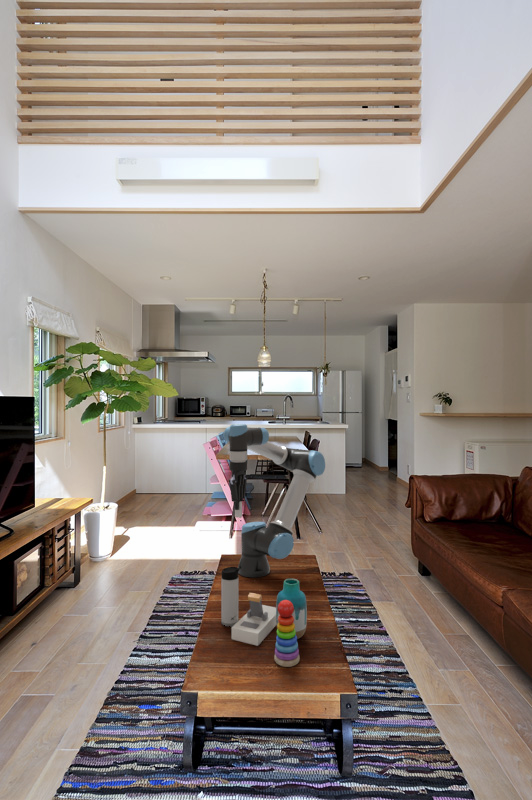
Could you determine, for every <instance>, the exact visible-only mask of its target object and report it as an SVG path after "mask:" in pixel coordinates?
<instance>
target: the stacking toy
mask: <svg viewBox="0 0 532 800" xmlns="http://www.w3.org/2000/svg"><path fill="white" fill-rule="evenodd" d="M293 611H294V607H293V604H292V603H291V602H290V601H288V600H283V601H281V602H280V603H279V605H278V612H279V614H280V616H279V617H278V622H279V623H278V625H276V636H275V637H276V642H275V648H274V656H273V657H274V662H275V663H276V664H277V665H279V666H280V667H284V668H291V667H294V666H296V665H297V664H299V662H300V659H301V658H300V652H299V644H298V639H297V636H296V635H295V634H296V631H295V629H294V628H295V624H294V623H293V622H294V617H293V616H292V614H293ZM277 628H278V629H277Z"/></svg>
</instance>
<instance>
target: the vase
mask: <svg viewBox="0 0 532 800" xmlns="http://www.w3.org/2000/svg"><path fill="white" fill-rule="evenodd" d="M283 600H288V601H290V602H291V603H292V604H293V607H294V611H293V614H292V616H293V617H294V622H293V623H294V624H295V628H294V629H295V631H296V634H295V635H296V636H297V640H299V639H300V638H302V637H303V635H304V634H305V632H306V630H307V622H308V621H307V619H308V610H307V607H308V606H307V597H306V594H305V593H304V592H303V591H302V590H301V589H300V581H299V580H298V579H295V578H286V579H285V580H284V581H283V587H282V590H280V591H279V592H278V594H277V596H276V602H275V603H276V604H275V605H276V606H275V608H276V623H277V625H278V623H279V622H278V617H279V616H280V614H279V612H278V605H279V603H280V602H281V601H283ZM277 625H276V626H277ZM277 629H278V628H277V627H276V630H277Z"/></svg>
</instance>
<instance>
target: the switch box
mask: <svg viewBox="0 0 532 800" xmlns="http://www.w3.org/2000/svg"><path fill="white" fill-rule="evenodd" d="M262 608H263V615H262V618H259V617H255V616H251V609H250V608H249V609H248V610H247V611H246V614H244V615H243V616H242V617H241V618H240V619H238V622H237V623H236V624H235V625H234V626H231V640H232V641H237V642H242V643H244V644H249V645H254V646H256V647H259V645H260V644H262V641H264V639H266V637H268V636H269V634H270V633H271V632H272V630H273V629H274V628H275V627H277V623H276V606H270V605H265V604H262Z"/></svg>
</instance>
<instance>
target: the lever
mask: <svg viewBox="0 0 532 800" xmlns="http://www.w3.org/2000/svg"><path fill="white" fill-rule="evenodd" d="M262 599H263V597H262V594H261V593H260V594H259V593H254V592H249V593H248V595H247V600H248V602H249V609H251V616H255V617H259V618H262V615H263V608H262V605H263V602H262Z"/></svg>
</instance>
